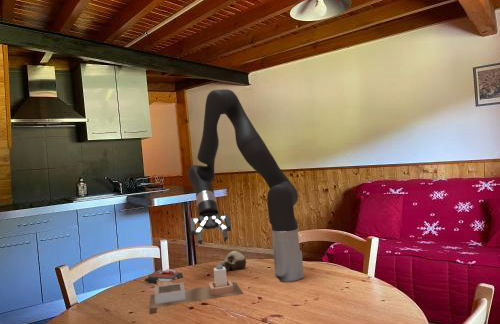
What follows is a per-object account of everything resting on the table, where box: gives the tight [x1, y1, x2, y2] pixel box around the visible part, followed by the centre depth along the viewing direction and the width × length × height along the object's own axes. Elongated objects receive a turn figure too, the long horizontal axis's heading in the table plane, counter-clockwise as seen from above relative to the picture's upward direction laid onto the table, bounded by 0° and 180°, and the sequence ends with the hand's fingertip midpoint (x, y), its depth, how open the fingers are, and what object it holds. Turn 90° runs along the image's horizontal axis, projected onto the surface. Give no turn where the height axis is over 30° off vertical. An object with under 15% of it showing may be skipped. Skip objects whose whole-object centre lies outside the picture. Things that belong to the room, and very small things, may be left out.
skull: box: [220, 250, 249, 273], centre depth 148 cm, size 12×10×10 cm
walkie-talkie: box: [144, 268, 184, 284], centre depth 139 cm, size 9×4×20 cm
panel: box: [149, 281, 244, 314], centre depth 119 cm, size 28×12×2 cm, turn 103°
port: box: [154, 282, 186, 306], centre depth 117 cm, size 9×9×3 cm
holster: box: [208, 279, 234, 295], centre depth 121 cm, size 7×7×2 cm
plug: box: [213, 264, 228, 288], centre depth 121 cm, size 4×4×8 cm
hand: (213, 241), depth 132 cm, fingers open, 8 cm apart
